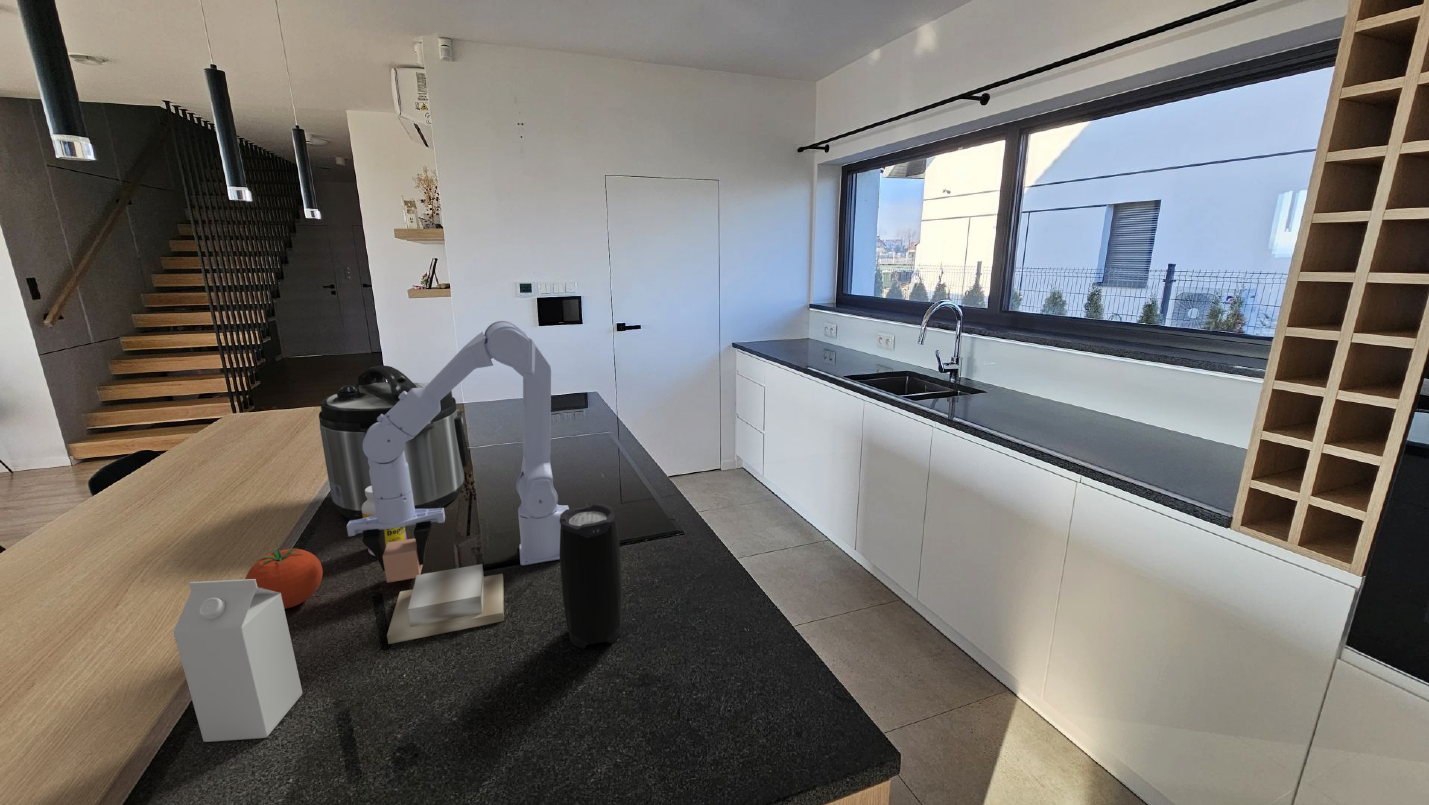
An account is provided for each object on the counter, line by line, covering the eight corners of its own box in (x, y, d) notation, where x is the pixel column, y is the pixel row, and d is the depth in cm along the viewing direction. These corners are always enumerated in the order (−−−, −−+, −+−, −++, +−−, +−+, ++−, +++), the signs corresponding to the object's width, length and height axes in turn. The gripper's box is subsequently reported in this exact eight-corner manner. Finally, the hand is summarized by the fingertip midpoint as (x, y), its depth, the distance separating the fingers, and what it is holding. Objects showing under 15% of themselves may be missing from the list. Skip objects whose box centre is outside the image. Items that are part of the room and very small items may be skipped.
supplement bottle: (390, 559, 108) (380, 495, 105) (360, 556, 110) (349, 493, 107) (415, 542, 115) (406, 482, 112) (386, 539, 116) (376, 479, 113)
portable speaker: (614, 609, 93) (608, 496, 88) (632, 643, 85) (627, 521, 80) (560, 623, 89) (551, 507, 84) (573, 661, 81) (564, 534, 76)
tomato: (319, 580, 102) (309, 528, 99) (334, 604, 95) (323, 549, 92) (246, 604, 95) (233, 549, 92) (255, 632, 88) (242, 573, 85)
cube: (423, 562, 104) (419, 537, 103) (419, 577, 99) (415, 550, 98) (392, 568, 102) (387, 542, 101) (387, 582, 98) (382, 556, 96)
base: (503, 581, 101) (500, 558, 100) (503, 621, 90) (501, 595, 89) (401, 599, 96) (397, 575, 95) (388, 644, 85) (383, 617, 84)
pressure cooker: (458, 522, 123) (439, 377, 115) (309, 536, 118) (279, 384, 110) (481, 472, 152) (467, 352, 144) (362, 481, 146) (341, 357, 138)
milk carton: (245, 698, 75) (212, 566, 70) (303, 694, 75) (275, 563, 70) (203, 743, 68) (163, 600, 63) (267, 739, 68) (233, 597, 64)
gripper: (442, 478, 103) (451, 547, 106) (349, 489, 98) (362, 561, 102) (438, 493, 97) (448, 565, 100) (338, 506, 92) (352, 582, 95)
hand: (404, 565), depth 100 cm, fingers closed on cube, 5 cm apart
